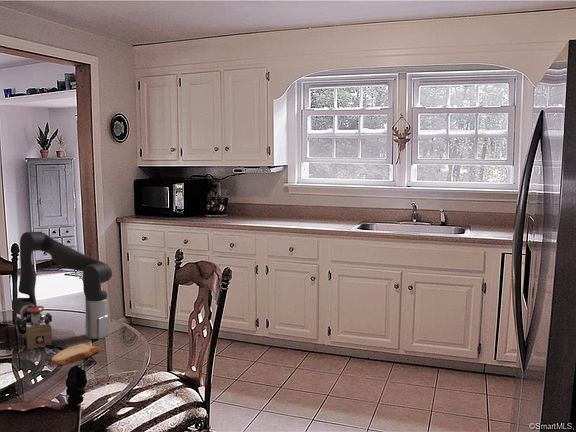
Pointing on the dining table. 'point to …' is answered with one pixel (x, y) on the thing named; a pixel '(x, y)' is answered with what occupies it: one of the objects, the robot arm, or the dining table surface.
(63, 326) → the dining table surface
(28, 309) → the copper-capped metal peg
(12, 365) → the dining table surface
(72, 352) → the seeded bread slice
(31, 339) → the brown striped block
